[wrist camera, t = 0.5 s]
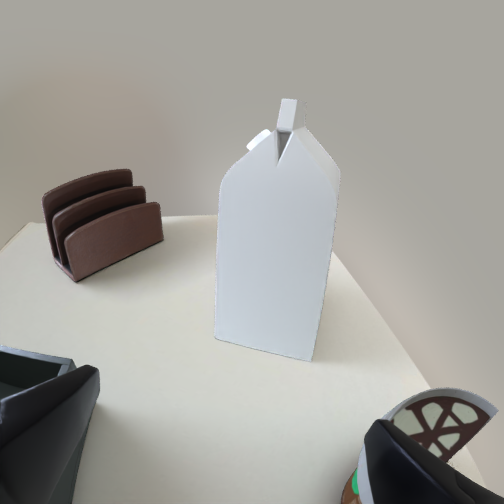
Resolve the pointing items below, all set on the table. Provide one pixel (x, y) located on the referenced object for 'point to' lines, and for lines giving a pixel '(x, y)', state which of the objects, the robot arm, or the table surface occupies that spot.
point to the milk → (276, 239)
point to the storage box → (27, 376)
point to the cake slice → (428, 430)
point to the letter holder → (99, 221)
